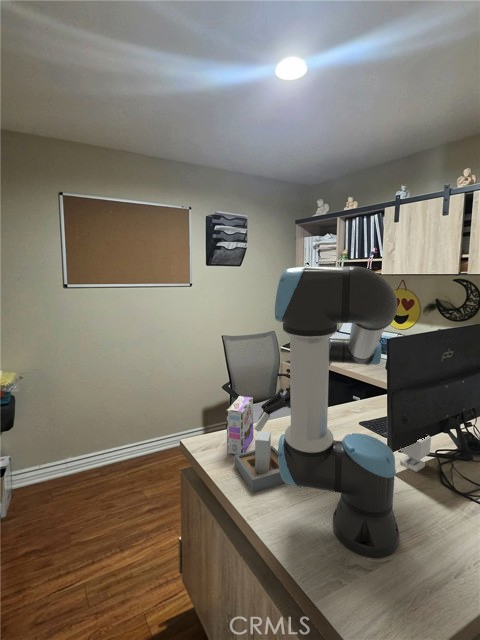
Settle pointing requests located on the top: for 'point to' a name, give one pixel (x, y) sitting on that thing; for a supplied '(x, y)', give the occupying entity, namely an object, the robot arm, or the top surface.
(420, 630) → the top surface
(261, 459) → the skincare box
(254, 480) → the bore box
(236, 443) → the candy box
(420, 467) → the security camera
